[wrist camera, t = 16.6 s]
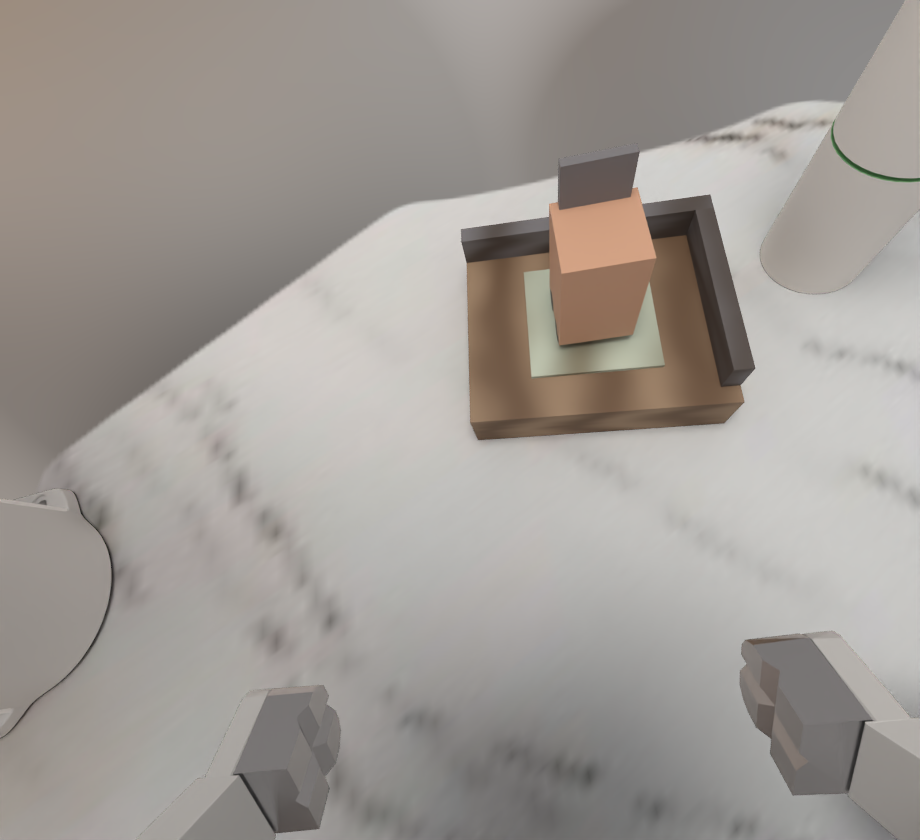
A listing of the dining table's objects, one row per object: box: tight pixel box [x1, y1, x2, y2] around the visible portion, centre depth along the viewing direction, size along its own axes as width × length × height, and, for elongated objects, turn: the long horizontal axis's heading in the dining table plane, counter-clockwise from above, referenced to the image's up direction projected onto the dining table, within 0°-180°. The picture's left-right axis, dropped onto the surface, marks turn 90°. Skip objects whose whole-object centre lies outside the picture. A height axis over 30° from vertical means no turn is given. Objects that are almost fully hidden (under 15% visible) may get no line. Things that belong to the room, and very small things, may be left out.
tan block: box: [549, 143, 656, 346], centre depth 29 cm, size 5×5×12 cm
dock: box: [461, 195, 755, 440], centre depth 36 cm, size 18×15×6 cm
